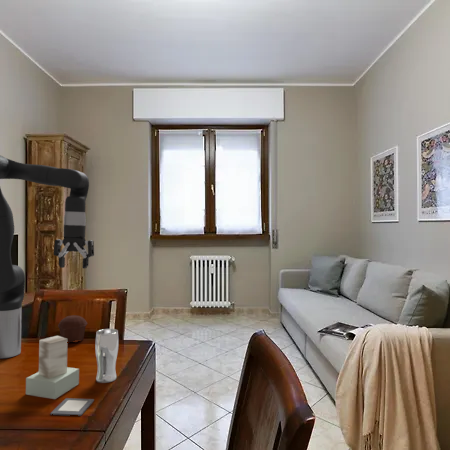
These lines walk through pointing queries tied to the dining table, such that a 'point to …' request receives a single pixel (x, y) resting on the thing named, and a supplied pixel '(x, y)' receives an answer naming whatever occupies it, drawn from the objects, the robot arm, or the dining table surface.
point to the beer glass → (106, 354)
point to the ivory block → (52, 356)
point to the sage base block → (52, 384)
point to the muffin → (72, 328)
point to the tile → (72, 407)
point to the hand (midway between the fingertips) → (73, 267)
